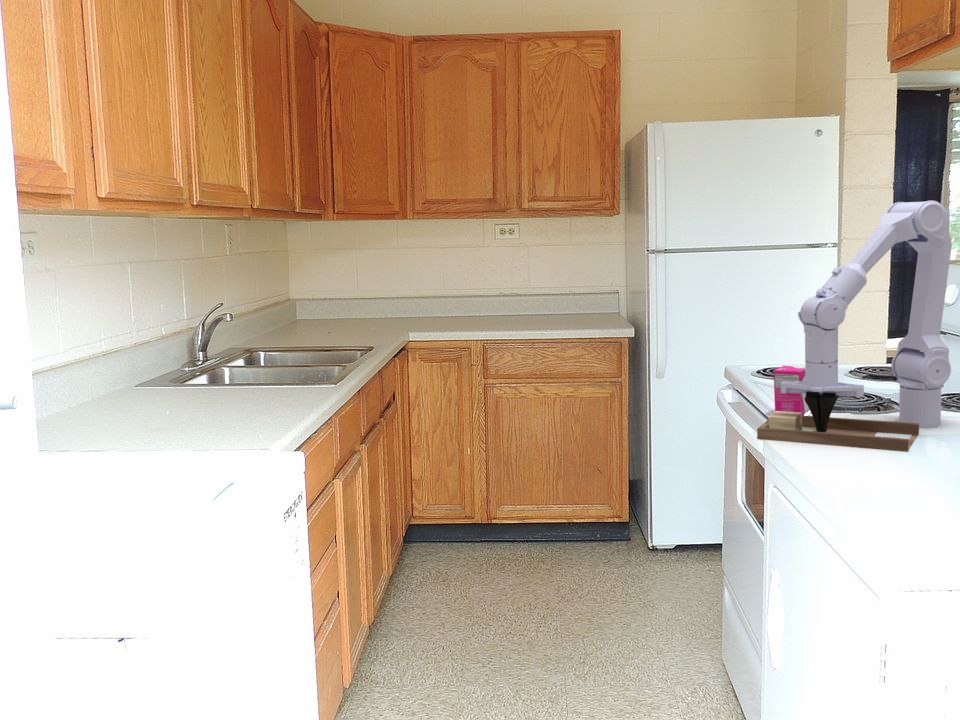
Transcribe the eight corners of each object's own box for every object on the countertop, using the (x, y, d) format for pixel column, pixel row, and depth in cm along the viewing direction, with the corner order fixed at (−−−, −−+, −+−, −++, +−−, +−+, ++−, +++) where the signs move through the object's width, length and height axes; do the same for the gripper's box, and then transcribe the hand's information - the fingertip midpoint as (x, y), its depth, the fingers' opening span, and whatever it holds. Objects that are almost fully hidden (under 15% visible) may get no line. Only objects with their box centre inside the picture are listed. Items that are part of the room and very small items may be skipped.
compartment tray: (776, 430, 179) (776, 413, 179) (918, 441, 165) (919, 423, 164) (757, 446, 169) (757, 428, 168) (907, 459, 154) (907, 440, 154)
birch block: (776, 428, 175) (775, 410, 175) (802, 430, 173) (802, 412, 172) (768, 434, 171) (768, 416, 171) (795, 436, 168) (795, 418, 168)
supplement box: (783, 417, 190) (783, 364, 188) (811, 420, 186) (811, 366, 184) (773, 423, 186) (773, 369, 184) (802, 426, 182) (801, 371, 180)
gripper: (776, 363, 167) (776, 433, 169) (858, 366, 159) (858, 439, 161) (786, 357, 173) (787, 425, 175) (866, 359, 164) (866, 430, 167)
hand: (821, 431), depth 168 cm, fingers closed
